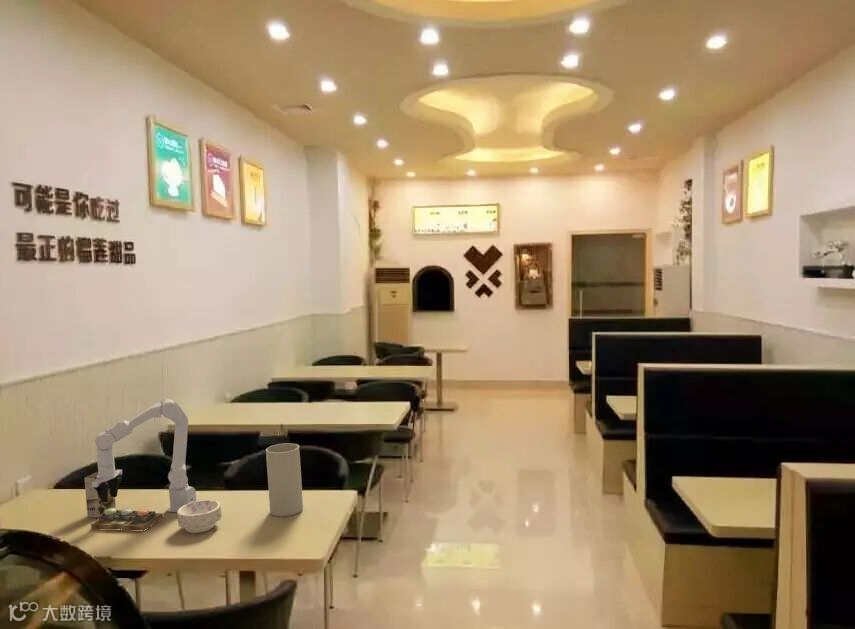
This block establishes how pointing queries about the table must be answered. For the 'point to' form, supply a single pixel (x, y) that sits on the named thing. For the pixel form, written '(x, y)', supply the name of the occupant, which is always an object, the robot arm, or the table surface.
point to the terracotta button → (143, 513)
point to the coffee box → (96, 498)
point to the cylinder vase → (284, 479)
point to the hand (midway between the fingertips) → (109, 499)
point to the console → (126, 521)
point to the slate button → (126, 512)
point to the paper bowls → (199, 515)
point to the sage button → (110, 511)
